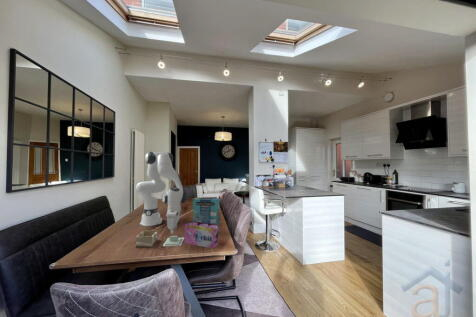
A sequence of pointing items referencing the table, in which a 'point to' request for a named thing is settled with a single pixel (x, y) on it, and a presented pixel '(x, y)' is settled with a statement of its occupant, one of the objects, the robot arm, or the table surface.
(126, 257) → the table surface
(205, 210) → the game box
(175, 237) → the lid
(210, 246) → the gum box
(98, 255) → the table surface
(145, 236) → the box
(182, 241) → the mat
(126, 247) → the table surface
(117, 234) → the table surface
